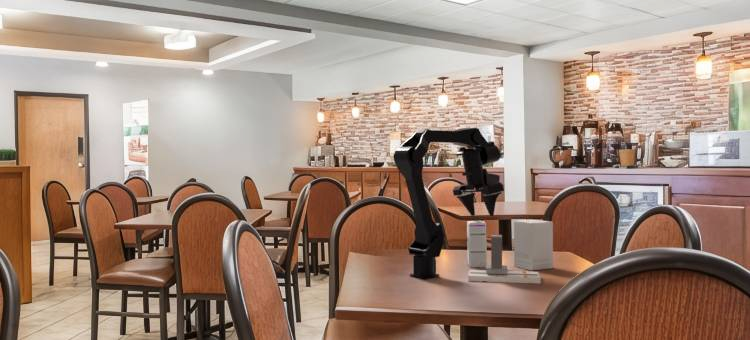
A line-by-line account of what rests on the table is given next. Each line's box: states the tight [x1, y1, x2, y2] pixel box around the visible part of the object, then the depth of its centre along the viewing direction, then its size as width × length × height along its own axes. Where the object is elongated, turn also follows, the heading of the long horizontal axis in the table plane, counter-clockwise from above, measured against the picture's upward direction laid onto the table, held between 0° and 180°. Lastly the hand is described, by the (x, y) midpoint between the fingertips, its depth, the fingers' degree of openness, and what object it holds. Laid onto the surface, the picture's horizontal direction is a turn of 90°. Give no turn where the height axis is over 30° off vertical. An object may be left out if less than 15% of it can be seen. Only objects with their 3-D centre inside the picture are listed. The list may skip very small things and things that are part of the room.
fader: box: [485, 234, 508, 274], centre depth 172 cm, size 6×6×11 cm
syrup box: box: [466, 220, 488, 268], centre depth 193 cm, size 6×6×14 cm
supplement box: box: [513, 219, 554, 271], centre depth 190 cm, size 9×9×15 cm
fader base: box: [467, 269, 542, 284], centre depth 172 cm, size 20×9×2 cm, turn 79°
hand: (482, 215), depth 187 cm, fingers open, 9 cm apart
